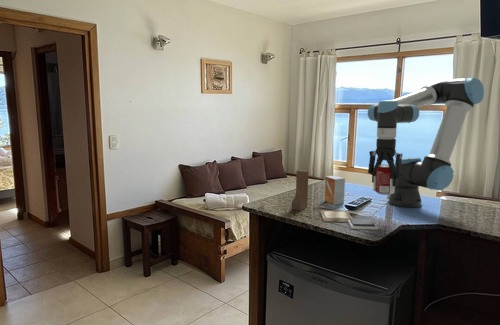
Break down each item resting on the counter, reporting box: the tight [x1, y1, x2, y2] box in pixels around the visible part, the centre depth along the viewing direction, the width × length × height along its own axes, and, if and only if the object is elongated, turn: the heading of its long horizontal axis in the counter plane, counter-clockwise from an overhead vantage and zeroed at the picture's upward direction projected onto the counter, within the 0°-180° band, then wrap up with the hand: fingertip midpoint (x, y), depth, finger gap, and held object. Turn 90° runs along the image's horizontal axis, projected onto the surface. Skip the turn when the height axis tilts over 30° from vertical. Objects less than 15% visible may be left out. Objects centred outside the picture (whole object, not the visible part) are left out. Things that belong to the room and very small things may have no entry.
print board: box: [320, 209, 353, 223], centre depth 156 cm, size 12×12×1 cm
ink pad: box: [347, 218, 379, 231], centre depth 145 cm, size 10×8×2 cm
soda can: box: [374, 163, 392, 196], centre depth 151 cm, size 7×7×12 cm
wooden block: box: [291, 169, 309, 212], centre depth 168 cm, size 9×4×18 cm, turn 149°
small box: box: [324, 175, 346, 206], centre depth 179 cm, size 8×6×13 cm
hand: (383, 191), depth 152 cm, fingers closed on soda can, 7 cm apart
